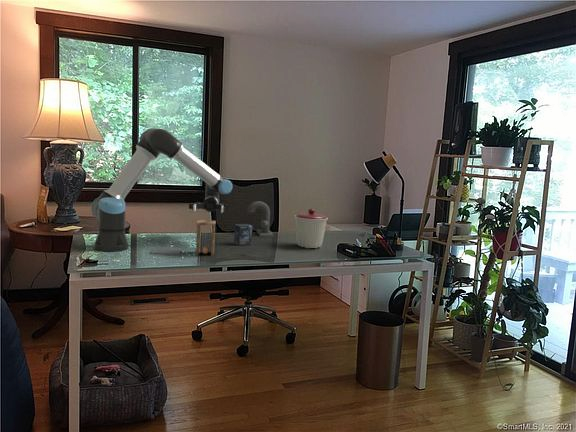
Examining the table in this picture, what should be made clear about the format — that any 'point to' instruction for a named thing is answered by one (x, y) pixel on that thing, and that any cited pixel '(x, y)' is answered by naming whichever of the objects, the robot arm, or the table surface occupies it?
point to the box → (243, 234)
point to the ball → (205, 250)
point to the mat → (166, 251)
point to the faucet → (265, 219)
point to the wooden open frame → (199, 222)
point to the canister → (310, 229)
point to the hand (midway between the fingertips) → (208, 209)
